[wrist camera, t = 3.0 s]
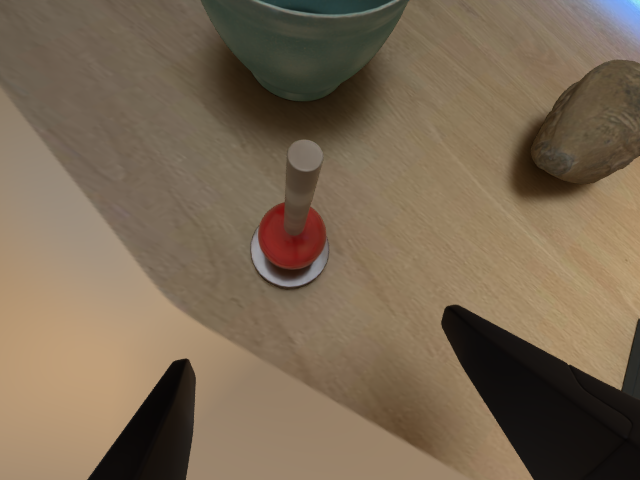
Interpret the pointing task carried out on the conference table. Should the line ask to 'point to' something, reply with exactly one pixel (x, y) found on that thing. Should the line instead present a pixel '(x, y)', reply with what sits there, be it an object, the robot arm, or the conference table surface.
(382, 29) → the flower pot
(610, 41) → the conference table surface
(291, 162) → the red base lever
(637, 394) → the tray
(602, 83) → the stone
